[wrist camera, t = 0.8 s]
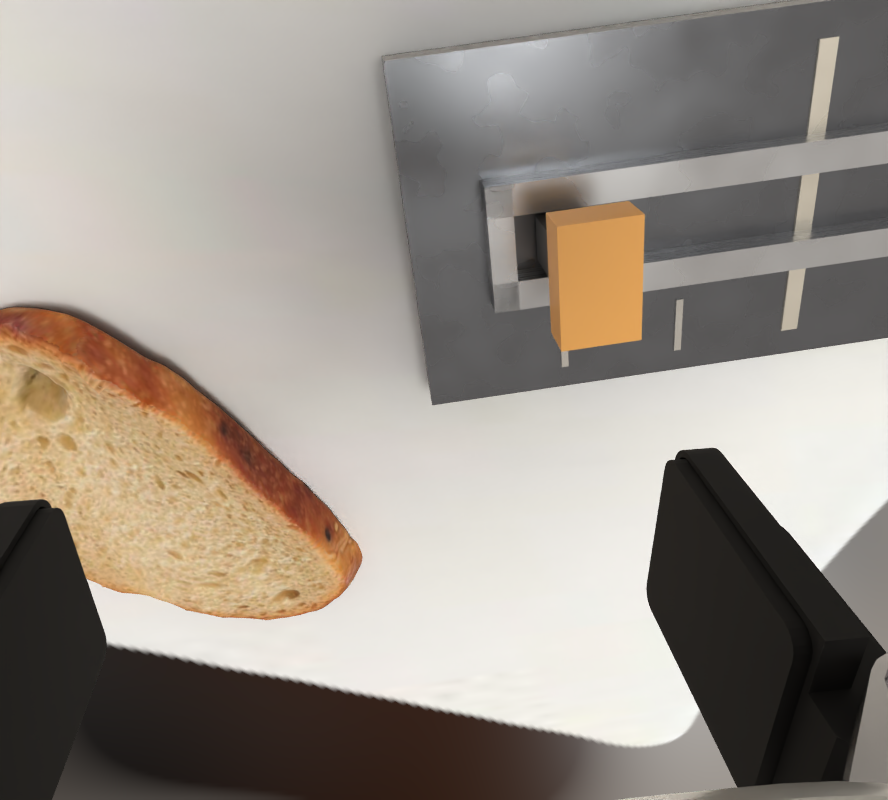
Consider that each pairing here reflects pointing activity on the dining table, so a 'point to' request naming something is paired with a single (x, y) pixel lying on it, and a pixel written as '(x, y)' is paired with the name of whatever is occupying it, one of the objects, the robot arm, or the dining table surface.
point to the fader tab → (593, 273)
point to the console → (650, 187)
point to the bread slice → (158, 478)
